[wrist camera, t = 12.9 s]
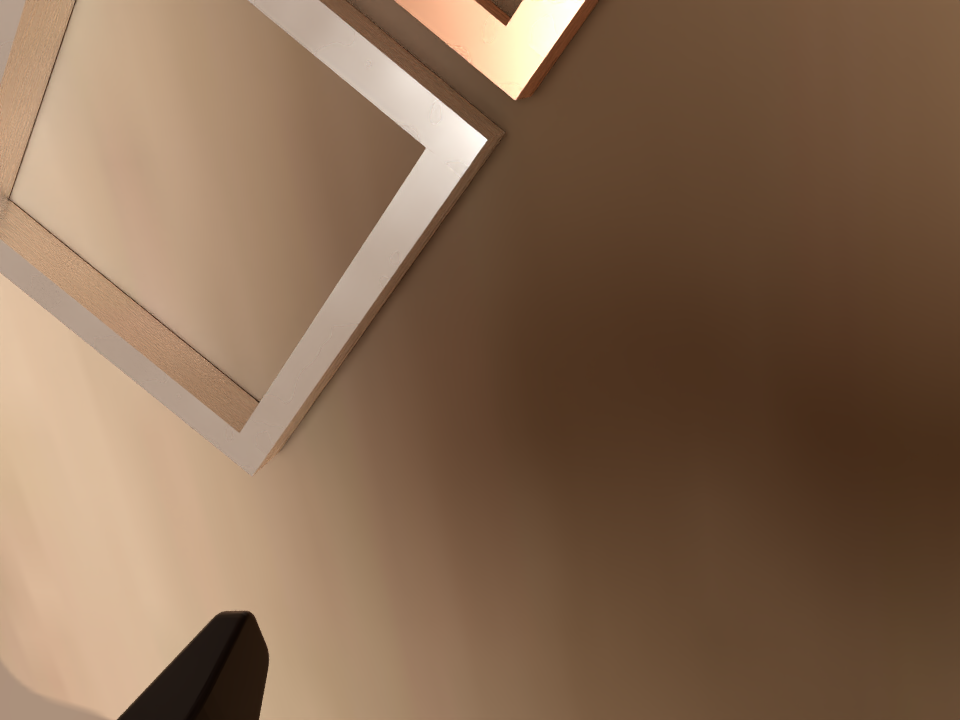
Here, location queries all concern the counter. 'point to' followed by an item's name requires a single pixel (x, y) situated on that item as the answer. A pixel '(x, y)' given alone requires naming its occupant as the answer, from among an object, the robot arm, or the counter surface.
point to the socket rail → (381, 260)
